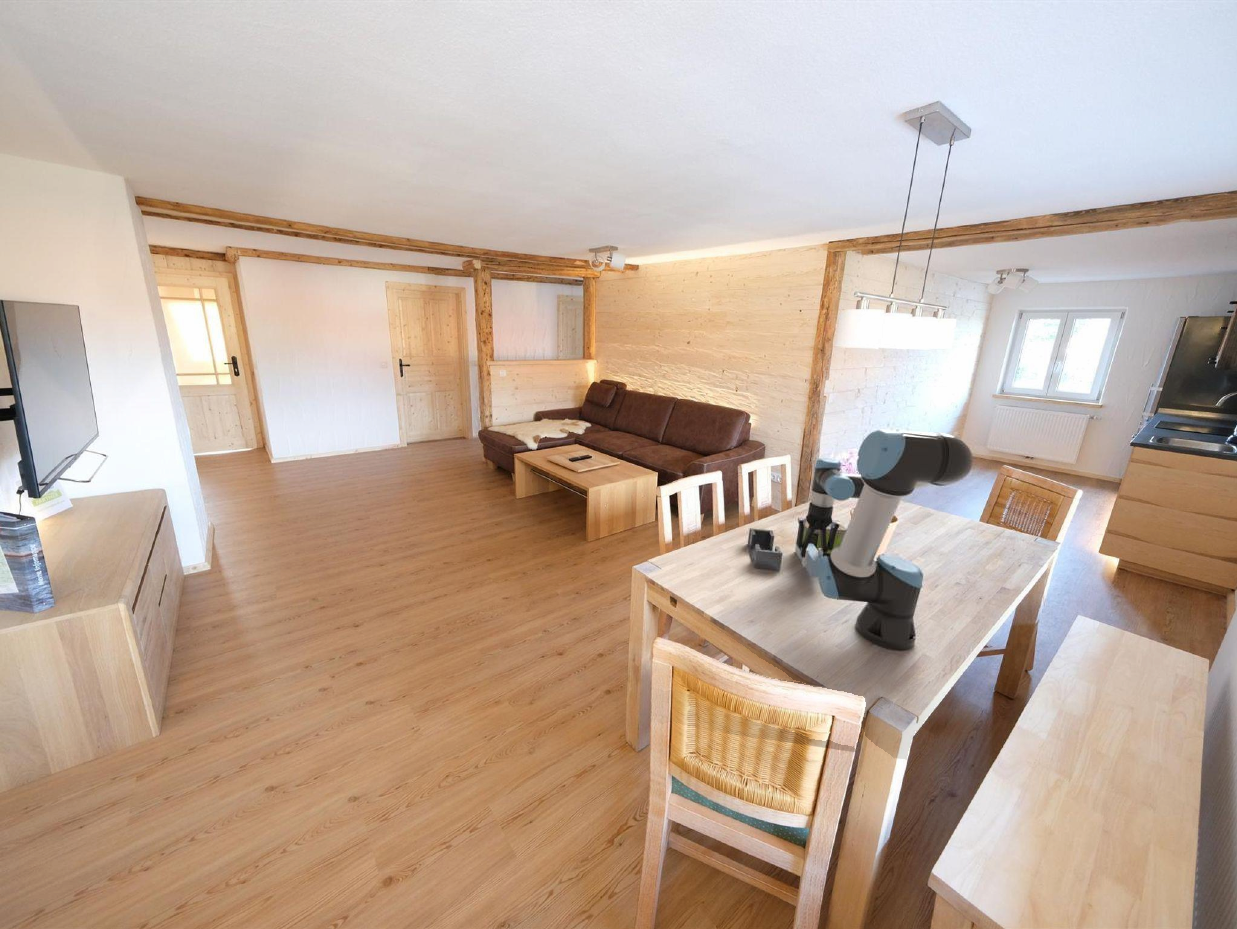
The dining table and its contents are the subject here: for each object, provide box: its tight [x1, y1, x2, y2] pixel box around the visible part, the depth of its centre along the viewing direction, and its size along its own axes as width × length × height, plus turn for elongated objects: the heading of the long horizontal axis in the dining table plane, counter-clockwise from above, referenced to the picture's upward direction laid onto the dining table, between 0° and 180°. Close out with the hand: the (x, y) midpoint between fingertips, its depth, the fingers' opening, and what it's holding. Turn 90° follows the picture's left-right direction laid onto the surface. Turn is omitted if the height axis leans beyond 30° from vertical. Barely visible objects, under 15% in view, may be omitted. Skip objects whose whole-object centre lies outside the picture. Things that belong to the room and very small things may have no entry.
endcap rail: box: [747, 527, 783, 572], centre depth 179 cm, size 20×9×7 cm, turn 172°
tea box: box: [794, 517, 847, 563], centre depth 178 cm, size 15×10×15 cm, turn 84°
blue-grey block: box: [798, 544, 822, 578], centre depth 164 cm, size 14×4×6 cm, turn 174°
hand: (811, 566), depth 164 cm, fingers closed on blue-grey block, 4 cm apart
